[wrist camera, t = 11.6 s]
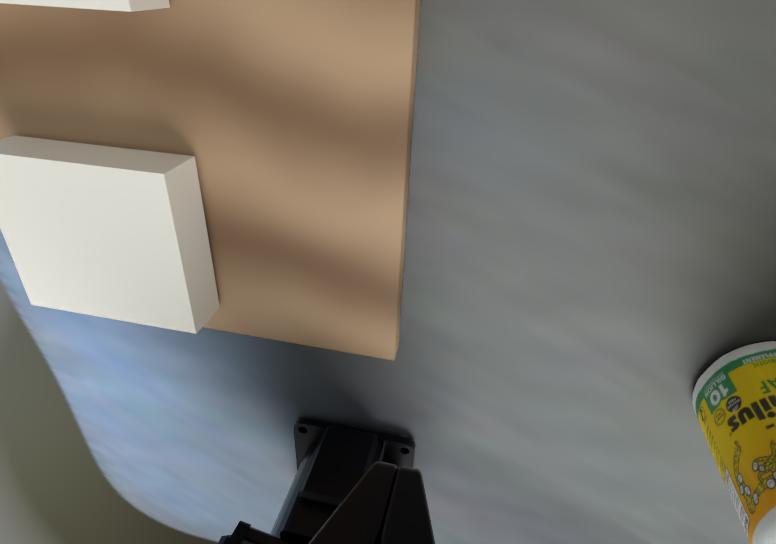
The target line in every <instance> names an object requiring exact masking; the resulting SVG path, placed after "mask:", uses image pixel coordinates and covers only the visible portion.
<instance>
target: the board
mask: <svg viewBox="0 0 776 544" xmlns="http://www.w3.org/2000/svg"><path fill="white" fill-rule="evenodd" d="M420 2H421V0H169V3H170V8H162V9H153V10H143V11H134V12H126V11H111V10H96V9H81V8H66V7H51V6H35V5H20V4H5V3H0V139H1V140H2V139H5V138H8V137H11V136H23V137H32V138H40V139H49V140H58V141H66V142H75V143H84V144H92V145H101V146H110V147H119V148H127V149H136V150H145V151H153V152H162V153H171V154H179V155H188V156H195V161H196V167H197V173H198V179H199V185H200V191H201V197H202V203H203V209H204V215H205V221H206V227H207V233H208V239H209V245H210V251H211V257H212V263H213V269H214V275H215V281H216V287H217V293H218V299H219V305H220V307H219V308H218V310H217V311H216V312H215V313H214V314H213V315H212V316H211V318H210V319H209V320H208V321H207V322H206V323H205V324H204V326H203V327H204V328H210V329H215V330H221V331H227V332H233V333H238V334H244V335H250V336H255V337H261V338H267V339H273V340H278V341H284V342H290V343H296V344H301V345H307V346H313V347H319V348H324V349H330V350H336V351H342V352H347V353H353V354H359V355H365V356H370V357H376V358H382V359H387V360H393V361H394V360H395V356H396V353H397V350H398V347H399V331H400V316H401V300H402V284H403V269H404V253H405V237H406V222H407V206H408V190H409V175H410V159H411V143H412V128H413V112H414V96H415V81H416V65H417V49H418V34H419V18H420Z"/></svg>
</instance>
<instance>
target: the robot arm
mask: <svg viewBox="0 0 776 544" xmlns="http://www.w3.org/2000/svg"><path fill="white" fill-rule="evenodd" d="M294 436H295V448H296V459H297V474H296V476H295V478H294V481H293V483H292V485H291V488H290V490H289V492H288V495H287V497H286V499H285V501H284V504H283V506H282V508H281V511H280V513H279V515H278V518H277V520H276V522H275V525H274V527H273V529H272V531H271V534H268V533H265V532H262V531H260V530H257V529H255V528H252V527H251V524H248V523H245V522H243V521H240V522H239V523H238V525H237V527H236V529H235V530H234V532H233V534H232V535H227V536H222V537H221V539H220V541H219V543H218V544H435V541H434V536H433V530H432V525H431V520H430V515H429V510H428V505H427V499H426V494H425V489H424V484H423V479H422V474H421V472H420V470H418V469H414V468H413V466H414V456H415V443H414V442H413V441H412V440H410V439H408V438H404V437H398V436H393V435H388V434H383V433H378V432H373V431H368V430H363V429H358V428H353V427H348V426H343V425H338V424H333V423H328V422H323V421H318V420H313V419H308V418H299V419H298V420H297V421H296V424H295V426H294ZM404 447H405V448H404Z"/></svg>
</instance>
